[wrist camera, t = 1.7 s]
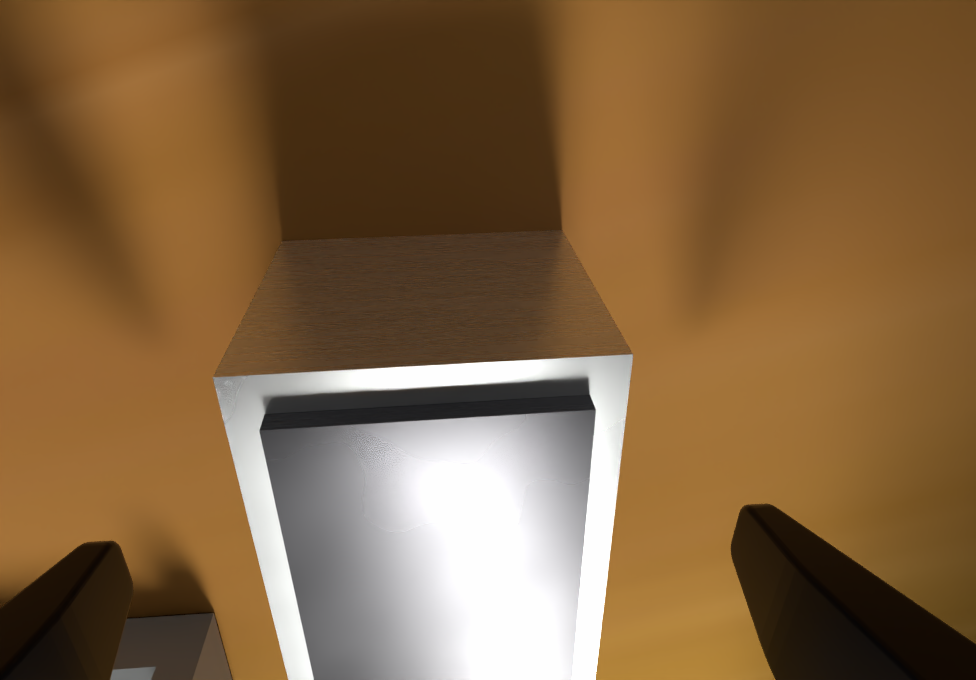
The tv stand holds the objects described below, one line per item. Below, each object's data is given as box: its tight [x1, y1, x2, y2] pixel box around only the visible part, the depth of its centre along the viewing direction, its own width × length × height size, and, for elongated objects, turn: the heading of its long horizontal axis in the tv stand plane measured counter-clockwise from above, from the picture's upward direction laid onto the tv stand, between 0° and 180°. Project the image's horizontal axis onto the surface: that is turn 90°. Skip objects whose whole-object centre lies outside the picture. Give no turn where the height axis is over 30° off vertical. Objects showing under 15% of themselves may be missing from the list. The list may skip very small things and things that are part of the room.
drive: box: [213, 230, 633, 680], centre depth 10 cm, size 7×4×4 cm, turn 0°
